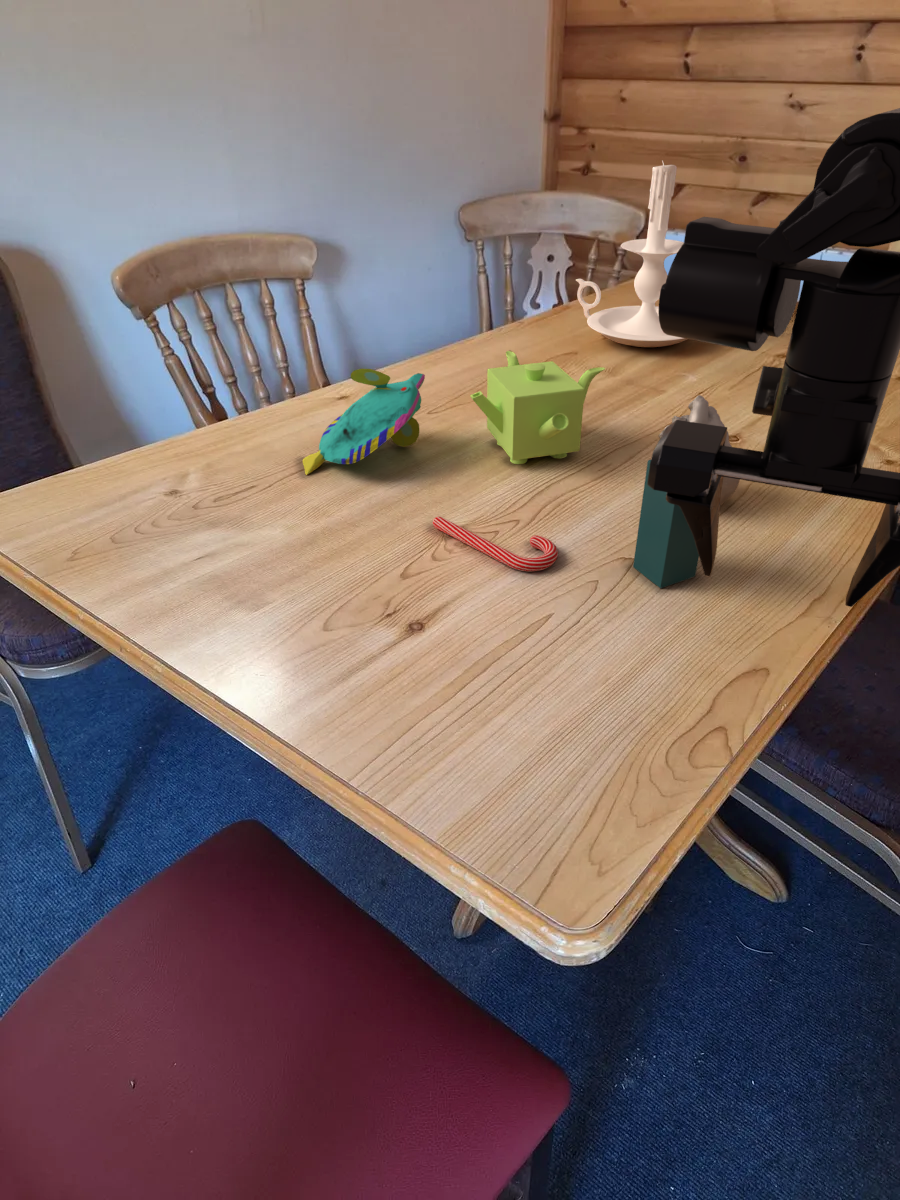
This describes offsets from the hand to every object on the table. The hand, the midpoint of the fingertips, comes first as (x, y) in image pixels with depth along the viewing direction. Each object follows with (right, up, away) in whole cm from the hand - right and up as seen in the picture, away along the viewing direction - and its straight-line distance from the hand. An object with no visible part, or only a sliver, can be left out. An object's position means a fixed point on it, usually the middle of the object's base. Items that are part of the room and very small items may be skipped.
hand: (776, 587), depth 54 cm
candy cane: (-18, +5, +30) cm, 35 cm away
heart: (+6, +11, +37) cm, 39 cm away
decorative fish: (-33, +18, +48) cm, 61 cm away
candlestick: (+10, +46, +86) cm, 98 cm away
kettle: (-11, +19, +50) cm, 54 cm away
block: (-1, +2, +25) cm, 25 cm away
